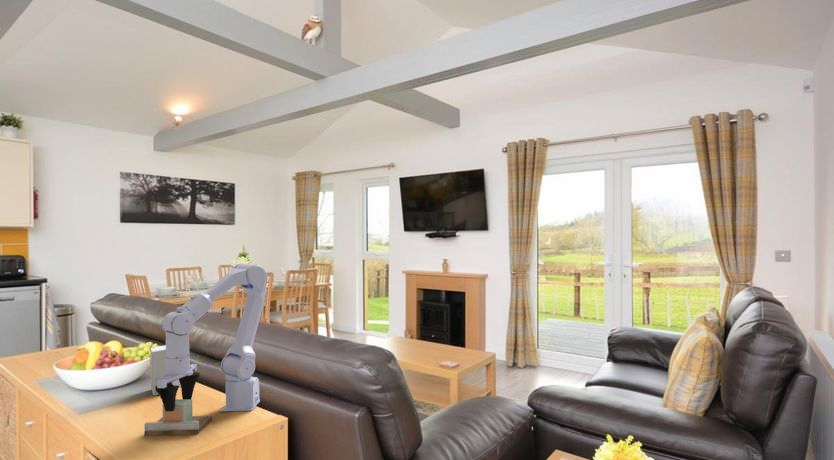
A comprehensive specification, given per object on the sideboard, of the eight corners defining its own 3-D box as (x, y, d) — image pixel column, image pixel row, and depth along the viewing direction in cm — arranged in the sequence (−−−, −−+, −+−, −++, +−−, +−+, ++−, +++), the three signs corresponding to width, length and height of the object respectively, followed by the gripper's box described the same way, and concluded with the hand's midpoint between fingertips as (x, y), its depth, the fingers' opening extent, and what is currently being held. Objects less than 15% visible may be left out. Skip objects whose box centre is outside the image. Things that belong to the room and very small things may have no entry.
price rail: (199, 428, 119) (199, 420, 119) (197, 429, 118) (197, 422, 118) (146, 429, 119) (146, 422, 119) (144, 431, 118) (144, 423, 118)
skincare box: (172, 392, 150) (171, 348, 150) (151, 396, 147) (151, 351, 147) (170, 385, 157) (169, 343, 157) (150, 389, 154) (149, 346, 154)
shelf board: (212, 419, 127) (212, 415, 127) (197, 434, 118) (197, 429, 118) (162, 421, 127) (162, 417, 127) (144, 435, 118) (144, 431, 118)
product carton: (172, 420, 124) (171, 399, 124) (192, 421, 124) (192, 399, 124) (162, 427, 120) (162, 405, 120) (183, 427, 120) (183, 405, 120)
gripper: (174, 364, 115) (175, 416, 115) (206, 349, 129) (207, 395, 129) (149, 363, 115) (150, 416, 115) (183, 348, 130) (184, 395, 130)
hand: (178, 405), depth 122 cm, fingers open, 7 cm apart
